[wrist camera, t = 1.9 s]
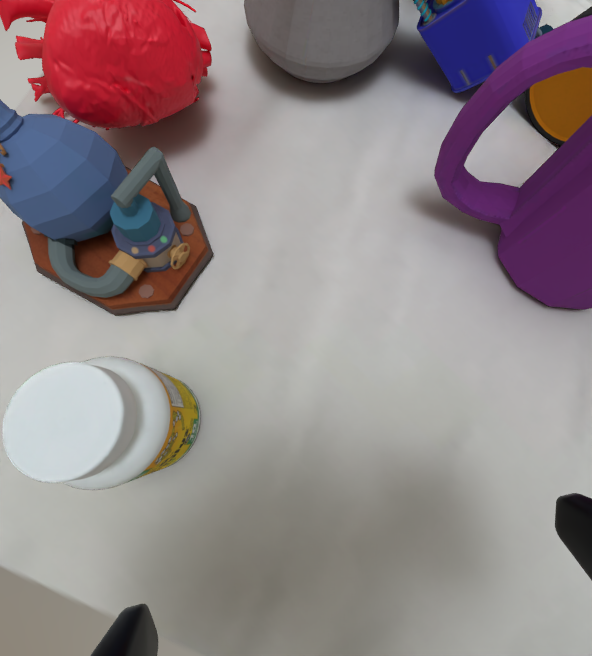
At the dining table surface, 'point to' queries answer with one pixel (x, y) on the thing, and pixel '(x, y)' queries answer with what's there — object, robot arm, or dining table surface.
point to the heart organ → (114, 58)
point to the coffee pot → (322, 34)
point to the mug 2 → (561, 101)
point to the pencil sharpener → (476, 35)
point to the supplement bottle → (99, 423)
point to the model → (99, 215)
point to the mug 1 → (532, 177)
